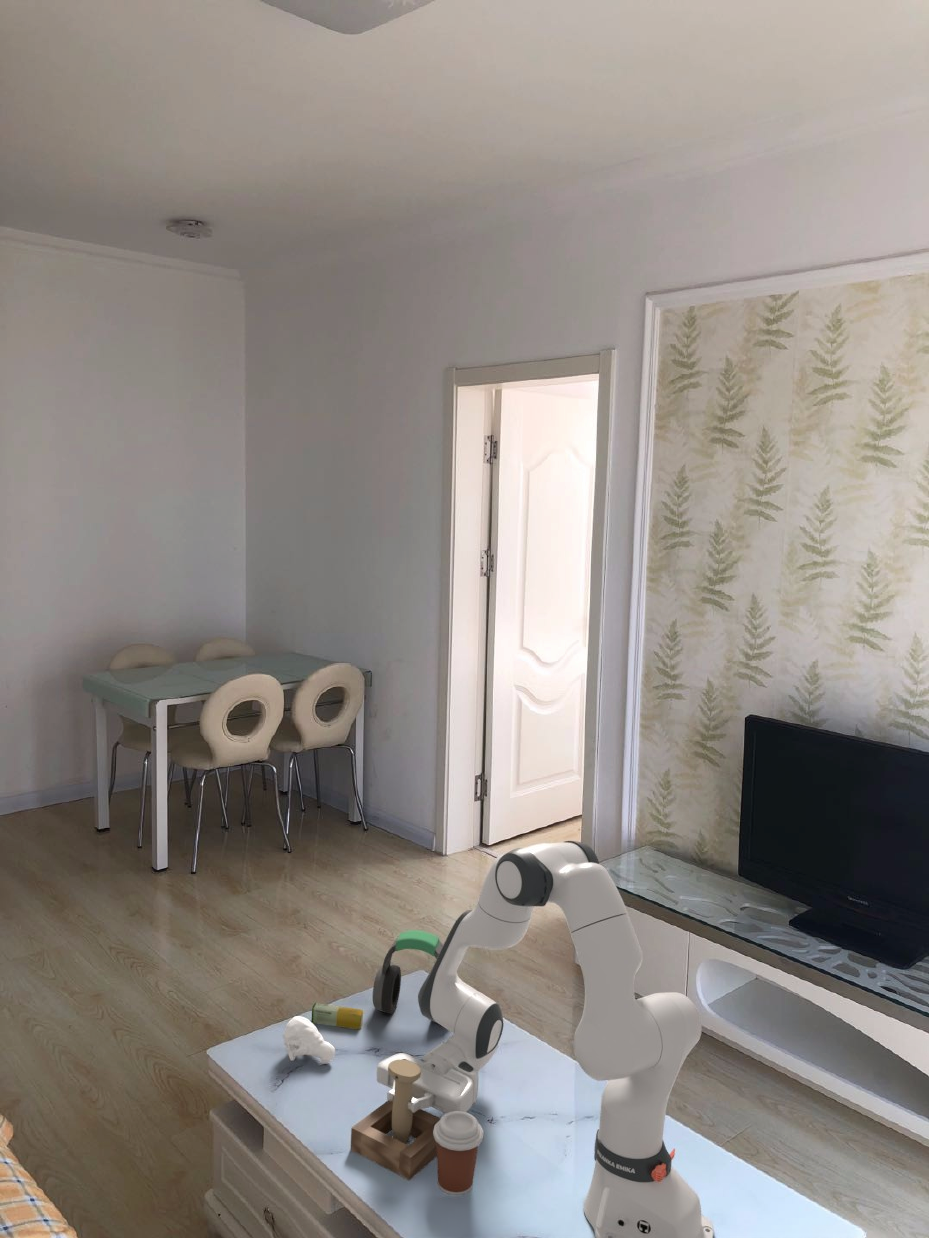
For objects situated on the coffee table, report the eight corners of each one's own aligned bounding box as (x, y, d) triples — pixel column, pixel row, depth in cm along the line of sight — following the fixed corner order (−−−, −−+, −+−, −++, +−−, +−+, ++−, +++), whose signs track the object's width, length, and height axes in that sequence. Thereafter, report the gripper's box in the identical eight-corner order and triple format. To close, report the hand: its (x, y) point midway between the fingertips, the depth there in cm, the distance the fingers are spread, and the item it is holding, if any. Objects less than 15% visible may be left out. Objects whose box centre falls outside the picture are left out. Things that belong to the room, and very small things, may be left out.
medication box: (310, 1023, 237) (311, 1007, 236) (313, 1017, 240) (314, 1001, 239) (360, 1030, 235) (361, 1014, 235) (363, 1024, 238) (364, 1008, 237)
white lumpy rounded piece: (297, 1007, 226) (344, 1026, 222) (293, 1042, 228) (339, 1061, 223) (282, 1020, 221) (329, 1039, 216) (277, 1056, 222) (324, 1076, 217)
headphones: (456, 1008, 248) (461, 930, 245) (448, 1030, 237) (452, 949, 235) (381, 997, 251) (385, 920, 249) (369, 1019, 240) (373, 938, 238)
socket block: (449, 1144, 195) (451, 1122, 195) (409, 1180, 185) (410, 1157, 184) (392, 1116, 203) (393, 1095, 202) (350, 1149, 192) (351, 1127, 192)
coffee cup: (419, 1183, 184) (423, 1121, 183) (453, 1160, 191) (456, 1100, 189) (457, 1208, 178) (461, 1144, 177) (490, 1183, 185) (494, 1122, 184)
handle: (406, 1154, 190) (410, 1079, 188) (379, 1140, 194) (383, 1067, 192) (421, 1141, 194) (425, 1068, 192) (395, 1128, 198) (399, 1056, 196)
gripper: (401, 1038, 209) (358, 1067, 197) (485, 1073, 198) (444, 1107, 186) (400, 1066, 210) (357, 1097, 198) (483, 1104, 198) (442, 1139, 187)
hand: (400, 1102), depth 192 cm, fingers closed on handle, 3 cm apart
